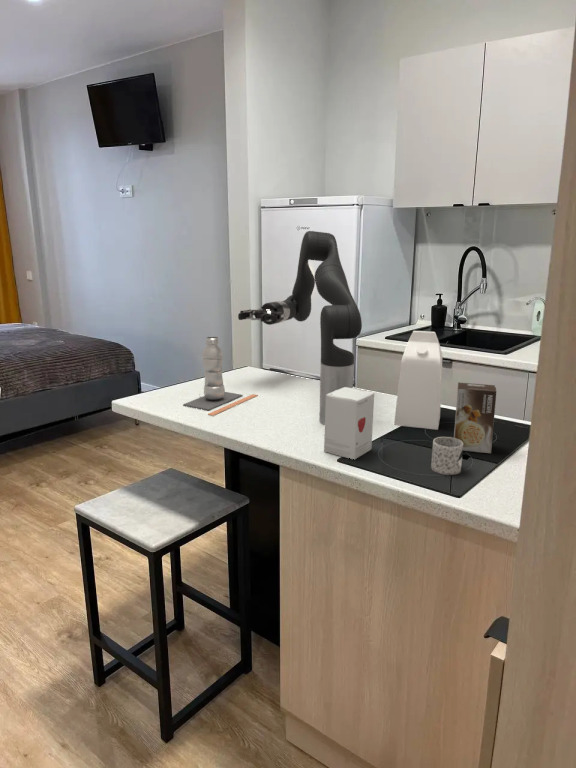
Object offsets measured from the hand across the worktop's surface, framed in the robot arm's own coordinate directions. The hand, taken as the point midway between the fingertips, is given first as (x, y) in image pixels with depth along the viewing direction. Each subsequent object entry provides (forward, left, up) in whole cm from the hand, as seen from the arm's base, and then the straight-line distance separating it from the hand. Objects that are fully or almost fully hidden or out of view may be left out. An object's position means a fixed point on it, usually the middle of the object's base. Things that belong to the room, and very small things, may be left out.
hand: (250, 317), depth 180 cm
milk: (-57, -1, -26) cm, 62 cm away
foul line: (-3, +14, -25) cm, 29 cm away
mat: (+5, +14, -25) cm, 29 cm away
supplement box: (-49, +30, -26) cm, 63 cm away
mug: (-72, +27, -26) cm, 81 cm away
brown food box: (-75, +12, -26) cm, 80 cm away
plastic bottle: (+5, +14, -25) cm, 29 cm away
